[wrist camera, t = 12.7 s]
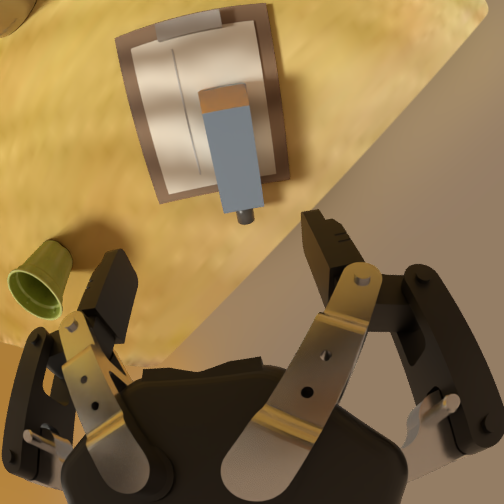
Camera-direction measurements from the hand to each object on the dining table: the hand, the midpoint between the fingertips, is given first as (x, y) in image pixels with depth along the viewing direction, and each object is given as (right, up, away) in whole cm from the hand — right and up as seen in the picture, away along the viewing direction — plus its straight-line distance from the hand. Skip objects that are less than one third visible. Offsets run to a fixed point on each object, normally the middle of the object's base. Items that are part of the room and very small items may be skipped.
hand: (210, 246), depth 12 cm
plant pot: (-28, -1, +21) cm, 35 cm away
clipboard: (-3, +15, +12) cm, 19 cm away
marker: (0, +10, +15) cm, 18 cm away
